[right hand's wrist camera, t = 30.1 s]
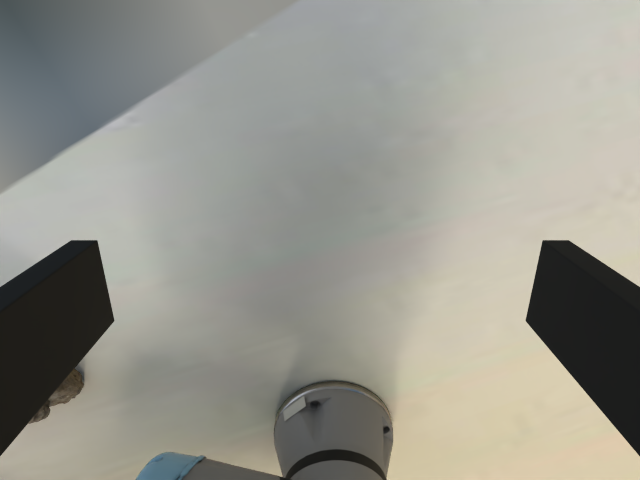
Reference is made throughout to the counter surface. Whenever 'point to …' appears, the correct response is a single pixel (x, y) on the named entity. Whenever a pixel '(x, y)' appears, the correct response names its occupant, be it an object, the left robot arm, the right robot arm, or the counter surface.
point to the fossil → (61, 394)
